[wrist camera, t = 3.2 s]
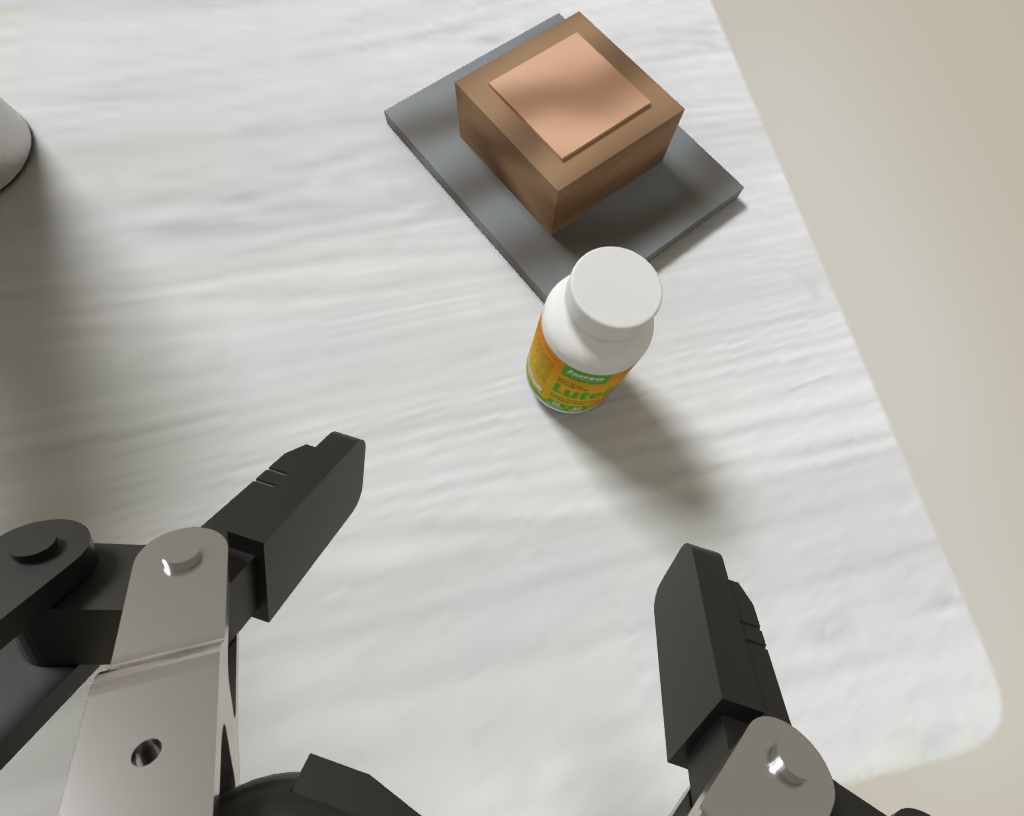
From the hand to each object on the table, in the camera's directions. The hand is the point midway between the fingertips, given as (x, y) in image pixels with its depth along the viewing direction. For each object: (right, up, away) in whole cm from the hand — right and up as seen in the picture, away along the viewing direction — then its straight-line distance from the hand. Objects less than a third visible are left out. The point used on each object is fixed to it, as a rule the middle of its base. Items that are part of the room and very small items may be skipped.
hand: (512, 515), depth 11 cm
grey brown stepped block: (+3, +20, +22) cm, 30 cm away
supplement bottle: (+3, +5, +17) cm, 18 cm away
